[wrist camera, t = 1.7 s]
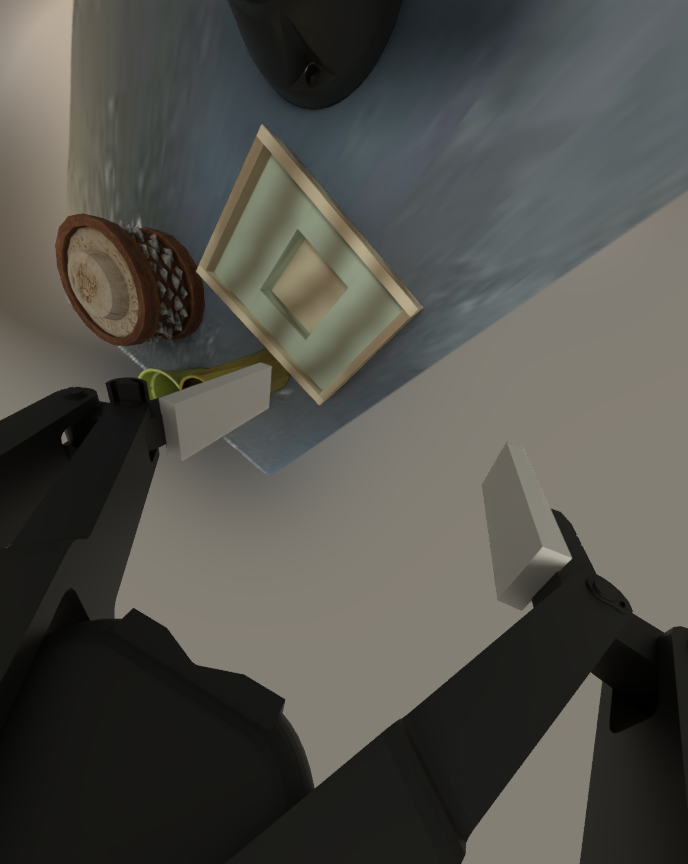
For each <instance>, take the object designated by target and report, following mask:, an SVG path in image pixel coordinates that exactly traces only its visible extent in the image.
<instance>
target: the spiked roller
mask: <svg viewBox="0 0 688 864" xmlns="http://www.w3.org/2000/svg"><path fill="white" fill-rule="evenodd" d="M55 247H56V258H57V267H58V270H59V274H60V277H61V280H62V284H63V287H64V290H65V292H66V294H67V296H68V298H69V300H70V302H71V304H72V306H73V308H74V310H75V311H76V312H77V314H78V315H79V316H80V318H81V319H82V320H83V322H84V323H85V324H86V326H87V327H88V328H90V330H92V331H93V332H94V333H95V334H96V335H97V336H98V337H99V338H101V339H103V340H104V341H106V342H109V343H110V344H113V345H117V346H130V345H136V344H142V343H144V342H145V341H147V342H149V343H150V344H151V343H152V339H154V340H155V341H156V342H157V343H158V342H159V340H160V338H164V339H170V340H171V339H176V338H183V337H186V336H188V335H190V334H192V333H193V332H195V331H196V329H197V327H198V326H199V324H200V323H201V321H202V317H203V312H204V307H205V300H204V288H203V284H202V280H201V277H200V275H199V274H198V273H197V272H196V270H197V266H196V264H195V263H194V261H193V259H192V258H191V256H190V254H189V253H188V251H187V249H186V248H185V247H184V246H183V245H181V244H180V243H179V242H178V241H177V240H176V239H175V238H174V237H173V236H171V235H168V234H166V233H164V232H161V231H159V230H154V229H150V228H139V227H138V225H136V226H135V227H134V228H133V229H131V227H130V225H129V224H128V225H127V226H125V225H124V224H123V222H122V221H120V222H119V224H115V223H113V222H111V221H108V220H106V219H103V218H100V217H96V216H91V215H87V214H77V215H72V216H68V217H67V218H66V220H65V221H64V222H63V223H62V225H61V226H60V227H59V230H58V235H57V240H56V245H55Z"/></svg>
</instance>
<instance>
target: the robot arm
mask: <svg viewBox="0 0 688 864" xmlns="http://www.w3.org/2000/svg"><path fill="white" fill-rule="evenodd" d="M401 1H402V0H228V3H229V5H230V8H231V10H232V12H233V15H234V17H235V20H236V22H237V25H238V27H239V30H240V32H241V35H242V37H243V40H244V42H245V45H246V47H247V49H248V51H249V53H250V55H251V57H252V59H253V61H254V62H255V64H256V66H257V67H258V69H259V70H260V72H261V73H262V74H263V75H264V77H265V78H266V79H267V80H268V81H269V83H270V84H271V85H272V86H273V87H274V88H275V89H276V91H277V92H278V93H279V94H280V95H281V96H283V97H284V98H285V99H286V100H288V101H289V102H291V103H293V104H295V105H297V106H300V107H304V108H323V107H327V106H329V105H332V104H334V103H336V102H338V101H340V100H342V99H343V98H345V97H346V96H347V95H349V94H350V93H351V92H352V91H354V90H355V89H356V88H357V87H358V86H359V85H360V83H361V82H362V81H363V80H364V79H365V78H366V76H367V75H368V74H369V72H370V71H371V70H372V68H373V67H374V65H375V64H376V62H377V60H378V59H379V57H380V55H381V53H382V51H383V50H384V47H385V45H386V43H387V41H388V39H389V37H390V34H391V32H392V29H393V27H394V24H395V21H396V18H397V15H398V12H399V8H400V5H401ZM271 369H272V366H270V365H267V364H264V363H261V362H260V363H257V364H255V365H252V366H249V367H246V368H243V369H240V370H237V371H235V372H232V373H229V374H226V375H223V376H220V377H217V378H215V379H212V380H209V381H206V382H203V383H200V384H197V385H195V386H190V387H187V388H184V389H182V390H179V391H176V392H174V393H170V394H167V395H164V396H161V397H159V398H156V399H153V400H150V397H149V391H148V385H147V382H146V381H145V380H142V379H139V378H118V379H113V380H110V381H108V382H106V387H107V391H108V395H109V399H110V403H107V402H101V401H99V399H98V395H97V392H96V391H95V390H94V389H90V388H81V387H75V388H74V387H70V388H68V389H63V390H60V391H57V392H55V393H53V394H51V395H49V396H47V397H45V398H43V399H41V400H39V401H37V402H35V403H34V404H31V405H29V406H28V407H26V408H24V409H22V410H20V411H18V412H16V413H14V414H13V415H10V416H8V417H7V418H4V419H2V420H0V864H461V863H462V861H463V859H464V856H465V853H466V842H467V840H468V838H469V836H470V834H471V833H472V831H473V830H474V828H475V827H476V826H477V824H478V823H479V822H480V820H481V819H482V817H483V816H484V815H485V814H486V812H487V811H488V809H489V808H490V807H491V805H492V804H493V803H494V801H495V800H496V799H497V797H498V796H499V795H500V793H501V792H502V791H503V789H504V788H505V786H506V785H507V784H508V782H509V781H510V780H511V778H512V777H513V776H514V774H515V773H516V772H517V770H518V769H519V768H520V766H521V765H522V764H523V762H524V761H525V760H526V758H527V757H528V756H529V754H530V753H531V751H532V750H533V749H534V747H535V746H536V745H537V743H538V742H539V741H540V739H541V738H542V737H543V735H544V734H545V733H546V731H547V730H548V729H549V727H550V726H551V725H552V723H553V722H554V721H555V719H556V718H557V717H558V715H559V714H560V713H561V711H562V710H563V708H564V707H565V706H566V704H567V703H568V702H569V700H570V699H571V698H572V696H573V695H574V694H575V692H576V691H577V690H578V688H579V687H580V685H581V684H582V683H583V681H584V680H585V679H586V677H587V676H588V675H589V673H590V672H591V673H592V674H594V675H595V676H596V677H598V678H599V679H601V680H602V689H601V697H600V705H599V714H598V721H597V730H596V738H595V745H594V753H593V762H592V770H591V777H590V786H589V794H588V802H587V810H586V818H585V826H584V835H583V842H582V851H581V858H580V864H688V628H684V627H681V626H679V627H673V628H672V629H670V630H668V631H667V632H665V633H664V632H662V631H661V630H659V629H657V628H656V627H654V626H652V625H651V624H649V623H647V622H646V621H644V620H642V619H641V618H639V617H638V616H636V615H634V614H633V613H632V611H633V610H632V608H631V606H630V604H629V602H628V600H627V599H626V598H625V597H624V595H623V594H622V593H621V592H620V591H619V590H618V589H617V588H616V587H615V586H614V585H612V584H611V583H610V582H608V581H607V580H605V579H604V578H602V577H601V576H599V575H597V574H596V572H595V570H594V568H593V566H592V564H591V562H590V560H589V558H588V556H587V554H586V552H585V550H584V548H583V546H581V542H580V540H579V538H578V537H577V536H576V535H577V534H576V532H575V530H574V528H573V526H572V524H571V523H570V522H569V521H568V520H567V518H566V517H565V516H564V515H563V514H562V513H561V512H559V511H556V510H553V509H551V508H550V507H549V504H548V502H547V500H546V497H545V495H544V493H543V491H542V488H541V486H540V484H539V482H538V479H537V477H536V475H535V472H534V470H533V468H532V465H531V463H530V461H529V459H528V456H527V454H526V452H525V450H524V447H521V446H518V445H515V444H512V443H509V442H506V444H505V446H504V448H503V449H502V451H501V453H500V454H499V456H498V458H497V460H496V461H495V463H494V465H493V466H492V468H491V470H490V472H489V473H488V475H487V477H486V479H485V480H484V482H483V484H482V489H483V496H484V503H485V511H486V518H487V526H488V533H489V541H490V548H491V555H492V563H493V570H494V578H495V585H496V592H497V599H498V600H499V601H501V602H503V603H506V604H508V605H510V606H512V607H515V608H517V609H519V610H523V609H524V608H525V607H526V606H527V605H528V603H530V602H531V601H532V603H533V607H534V608H533V609H532V610H531V611H530V612H528V614H526V615H525V616H524V617H523V618H521V619H520V620H519V621H518V622H517V623H515V624H514V625H513V626H512V627H511V628H510V629H508V630H507V631H506V632H505V633H504V634H502V635H501V636H500V637H499V638H498V639H496V640H495V641H494V642H493V643H492V644H491V645H489V646H488V647H487V648H486V649H485V650H483V651H482V652H481V653H480V654H479V655H477V656H476V657H475V658H474V659H473V660H472V661H470V662H469V663H468V664H467V665H466V666H465V667H463V668H462V669H461V670H460V671H459V672H457V673H456V674H455V675H454V676H453V677H451V678H450V679H449V680H448V681H447V682H445V683H444V684H443V685H442V686H441V687H439V688H438V689H437V690H436V691H435V692H434V693H432V694H431V695H430V696H429V697H428V698H426V699H425V700H424V701H423V702H422V703H420V704H419V705H418V706H417V707H416V708H415V709H413V710H412V711H411V712H410V713H409V714H407V715H406V716H405V717H403V718H402V719H399V720H398V721H396V722H395V723H393V724H392V725H391V726H390V727H388V728H387V729H386V730H385V731H383V732H382V733H381V734H380V735H379V736H377V737H376V738H375V739H374V740H373V741H371V742H370V743H369V744H368V745H367V746H365V747H364V748H363V749H362V750H361V751H360V752H358V753H357V754H356V755H355V756H353V757H352V758H351V759H350V760H349V761H347V762H346V763H345V764H344V765H343V766H341V767H340V768H339V769H338V770H337V771H335V772H334V773H333V774H332V775H331V776H330V777H328V778H327V779H326V780H325V781H323V783H321V784H320V785H319V786H317V787H316V788H314V784H313V780H312V774H311V770H310V766H309V763H308V760H307V757H306V754H305V751H304V748H303V746H302V744H301V742H300V739H299V737H298V735H297V733H296V732H295V730H294V728H293V727H292V725H291V723H290V722H289V721H288V720H287V718H286V717H285V716H284V715H283V713H282V712H283V708H284V703H285V699H284V698H282V697H280V696H279V695H277V694H275V693H274V692H272V691H270V690H269V689H267V688H265V687H264V686H262V685H260V684H259V683H257V682H256V681H254V680H252V679H251V678H249V677H247V676H246V675H243V674H238V673H233V672H228V671H223V670H218V669H213V668H208V667H203V666H198V665H196V664H194V663H193V662H192V661H191V660H190V659H189V657H188V656H187V654H186V653H185V652H184V650H183V649H182V648H181V646H180V645H179V644H178V642H177V641H176V640H175V638H174V637H173V636H172V634H171V633H170V632H169V630H168V629H167V628H166V627H164V626H162V625H161V624H159V623H158V622H156V621H154V620H152V619H151V618H149V617H148V616H146V615H144V614H143V613H141V612H139V611H138V610H136V609H134V608H133V609H132V610H131V611H130V612H129V613H128V614H127V615H126V616H124V617H123V618H122V619H114V607H115V601H116V597H117V594H118V590H119V587H120V584H121V581H122V577H123V574H124V571H125V567H126V564H127V561H128V557H129V554H130V551H131V547H132V544H133V541H134V538H135V534H136V531H137V528H138V524H139V521H140V518H141V514H142V511H143V508H144V504H145V501H146V498H147V494H148V491H149V488H150V484H151V481H152V478H153V475H154V471H155V468H156V465H157V461H158V458H159V447H161V446H163V445H165V444H166V447H167V454H168V456H170V457H173V458H175V459H177V460H179V461H183V460H185V459H186V458H188V457H190V456H191V455H193V454H195V453H196V452H198V451H200V450H201V449H203V448H205V447H206V446H208V445H210V444H211V443H213V442H215V441H216V440H218V439H219V438H221V437H223V436H224V435H226V434H228V433H229V432H231V431H233V430H234V429H236V428H237V427H239V426H241V425H242V424H244V423H246V422H247V421H249V420H251V419H252V418H254V417H255V416H257V415H259V414H260V413H262V412H264V411H265V410H267V409H269V402H270V385H271ZM64 431H65V434H66V436H67V439H68V441H67V442H66V443H64V444H62V441H61V437H62V434H63V432H64Z"/></svg>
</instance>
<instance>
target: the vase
mask: <svg viewBox="0 0 688 864" xmlns="http://www.w3.org/2000/svg"><path fill="white" fill-rule="evenodd" d="M260 362H261V363H264V364H267V365H270V366H272V369H271V385H270V393H271V392H273V391H276V390H279V389H281V388H283V387H284V386H285V385H286V384H287V382H288V379H289V372H288V371H287V370H286V369H285V368H284V367H283V366H282V365H281V363H280V362H279V361H278V360H277V359H276V358H275V357H274V356H273V355H272V354H271V353H270V351H269V350H268V349H264V350H262V351H260V352H257V353H254V354H251V355H249V356H246V357H243V358H240V359H237V360H234V361H232V362H229V363H226V364H223V365H220V366H216V367H213V368H210V369H207V370H203V371H200V372H197V373H193V374H190V375H188V376H186V377H184V378H183V379H182V380H181V382H180V386H179V390H182V389H184V388H187V387H190V386H195V385H197V384H200V383H203V382H206V381H209V380H212V379H215V378H217V377H220V376H223V375H226V374H229V373H232V372H235V371H237V370H240V369H243V368H246V367H249V366H252V365H255V364H257V363H260Z"/></svg>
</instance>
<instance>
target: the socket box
mask: <svg viewBox="0 0 688 864" xmlns="http://www.w3.org/2000/svg"><path fill="white" fill-rule="evenodd" d="M196 272H197V273H198V274H199V275H200V276H201V277H202V279H203V280H204V281H205V282H206V283H207V284H208V285H209V286H210V287H211V288H212V289H213V291H214V292H215V293H216V294H217V295H218V296H219V297H220V298H221V299H222V300H223V301H224V302H225V304H226V305H227V306H228V307H229V308H230V309H231V310H232V311H233V312H234V313H235V314H236V316H237V317H238V318H239V319H240V320H241V321H242V322H243V323H244V324H245V325H246V326H247V328H248V329H249V330H250V331H251V332H252V333H253V334H254V335H255V336H256V337H257V338H258V339H259V341H260V342H261V343H262V344H263V345H264V346H265V347H266V348H267V349H268V350H269V351H270V353H271V354H272V355H273V356H274V357H275V358H276V359H277V360H278V361H279V362H280V363H281V365H282V366H283V367H284V368H285V369H286V370H287V371H288V372H289V373H290V374H291V375H292V376H293V378H294V379H295V380H296V381H297V382H298V383H299V384H300V385H301V386H302V387H303V388H304V390H305V391H306V392H307V393H308V394H309V395H310V396H311V397H312V398H313V399H314V400H315V402H316V403H317V404H318V405H321V404H322V403H323V402H324V401H326V400H327V399H328V398H329V397H331V396H332V395H333V394H334V393H335V392H336V391H337V390H338V389H339V388H341V387H342V386H343V385H344V384H345V383H346V382H347V381H348V380H349V379H350V378H351V377H352V376H353V375H354V374H355V373H356V372H357V371H358V370H359V369H360V368H361V367H362V366H363V365H364V364H365V363H367V362H368V361H369V360H370V359H371V358H372V357H373V356H374V355H375V354H376V353H377V352H378V351H379V350H380V349H381V348H382V347H383V346H384V345H385V344H386V343H387V342H388V341H389V340H390V339H391V338H393V337H394V336H395V335H396V334H397V333H398V332H399V331H400V330H401V329H402V328H403V327H404V326H405V325H406V324H407V323H408V322H409V321H410V320H411V319H412V318H413V317H414V316H415V315H416V314H417V313H419V312H420V311H421V310H422V309H423V307H422V305H421V304H420V303H419V302H418V301H417V299H416V298H415V297H414V296H413V295H412V294H411V292H410V291H409V290H408V289H407V288H406V286H405V285H404V284H403V283H402V282H401V280H400V279H399V278H398V277H397V276H396V274H395V273H394V272H393V271H392V270H391V269H390V267H389V266H388V265H387V264H386V263H385V261H384V260H383V259H382V258H381V257H380V255H379V254H378V253H377V252H376V251H375V249H374V248H373V247H372V246H371V245H370V244H369V242H368V241H367V240H366V239H365V238H364V236H363V235H362V234H361V233H360V232H359V230H358V229H357V228H356V227H355V226H354V224H353V223H352V222H351V221H350V220H349V219H348V217H347V216H346V215H345V214H344V213H343V211H342V210H341V209H340V208H339V207H338V205H337V204H336V203H335V202H334V201H333V200H332V198H331V197H330V196H329V195H328V194H327V192H326V191H325V190H324V189H323V188H322V186H321V185H320V184H319V183H318V182H317V180H316V179H315V178H314V177H313V176H312V175H311V173H310V172H309V171H308V170H307V169H306V167H305V166H304V165H303V164H302V163H301V161H300V160H299V159H298V158H297V157H296V155H295V154H294V153H293V152H292V151H291V150H290V148H289V147H287V146H286V145H285V144H284V143H283V142H282V141H281V140H280V139H278V138H277V137H276V136H275V135H274V134H273V133H272V132H271V131H269V130H268V129H267V128H266V127H265V126H264V125H263V124H261V127H260V129H259V131H258V133H257V136H256V138H255V140H254V142H253V145H252V147H251V149H250V151H249V154H248V156H247V158H246V160H245V163H244V165H243V167H242V169H241V172H240V174H239V176H238V178H237V181H236V183H235V185H234V187H233V190H232V192H231V194H230V196H229V199H228V201H227V203H226V205H225V208H224V210H223V212H222V214H221V216H220V219H219V221H218V223H217V225H216V228H215V230H214V232H213V234H212V237H211V239H210V241H209V243H208V246H207V248H206V250H205V252H204V255H203V257H202V259H201V261H200V264H199V266H198V268H197V270H196Z"/></svg>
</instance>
